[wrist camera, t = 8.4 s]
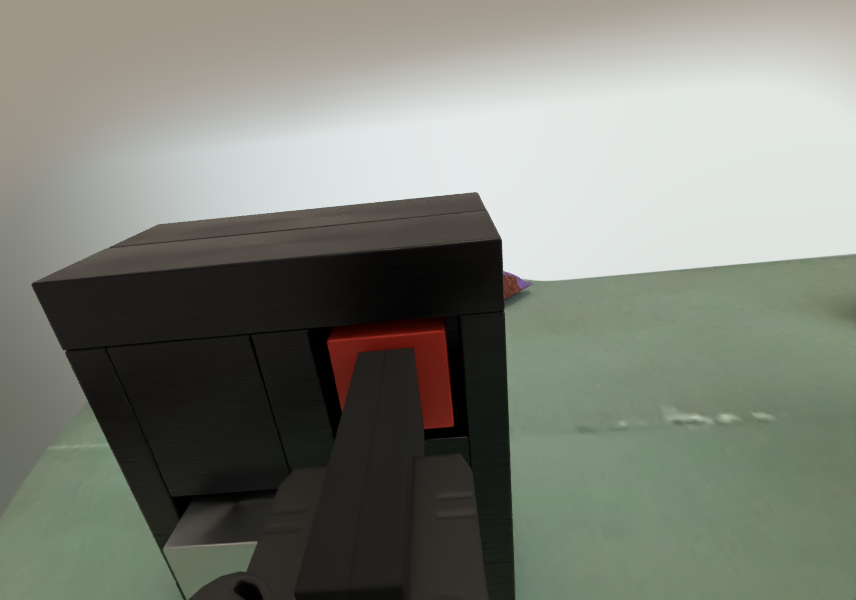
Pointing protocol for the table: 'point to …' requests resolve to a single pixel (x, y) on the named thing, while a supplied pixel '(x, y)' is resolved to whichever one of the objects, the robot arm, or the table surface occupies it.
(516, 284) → the snack package
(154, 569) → the table surface
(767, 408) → the table surface
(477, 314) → the button panel
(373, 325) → the top right button
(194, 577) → the bottom left button
